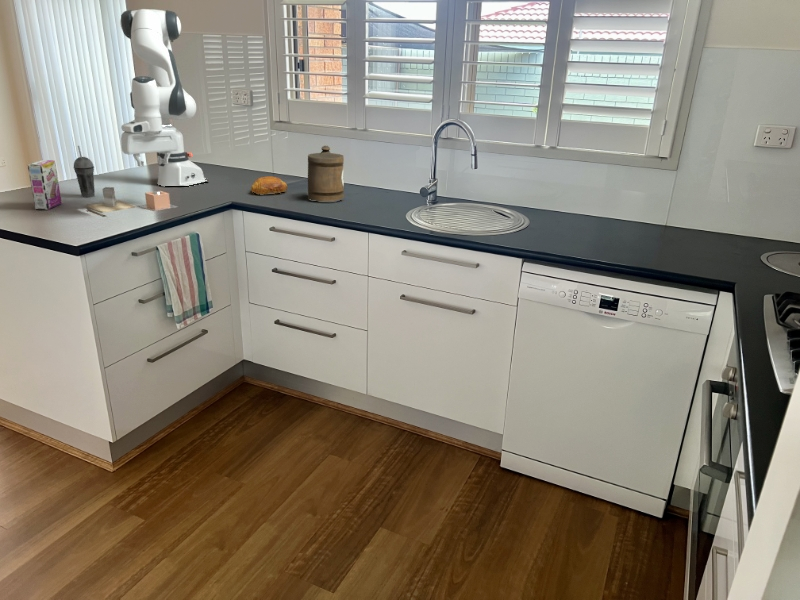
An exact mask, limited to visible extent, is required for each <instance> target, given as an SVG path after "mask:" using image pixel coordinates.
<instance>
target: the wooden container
mask: <svg viewBox="0 0 800 600" xmlns="http://www.w3.org/2000/svg"><path fill="white" fill-rule="evenodd" d="M330 150H331V148H330V147H329V146H328V145H323V146H321V152H316V153H315V152H314V153H309V154H308V155H307V199H308V198H309V199H311V200H316V201H335V200H339V199H342V198H343V199H344V189H345V188H344V185H345V184H344V183H345V182H344V179H345V178H344V162H345V161H344V159H345V158H344V155H343V154H340V153H335V152H334V153H331V151H330ZM309 199H308V200H309Z"/></svg>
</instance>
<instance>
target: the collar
mask: <svg viewBox="0 0 800 600" xmlns="http://www.w3.org/2000/svg"><path fill="white" fill-rule="evenodd" d="M159 191H160V194H156V195H154V194H153V192H154V191H150V192H149V191H148V192H145V193H144V195H145V197H144V198H145V205H147V207H150V208H153V209H159V208H165V207H170V204H171V200H170V193H169V192H165V191H162V190H159Z"/></svg>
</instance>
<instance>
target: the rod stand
mask: <svg viewBox="0 0 800 600" xmlns="http://www.w3.org/2000/svg"><path fill="white" fill-rule="evenodd" d="M160 191H161V190H154V191H152V192H153V194H154V195H156V194H160ZM138 207H140V208H142V209H146V210H149V211H152V212H156V211H162V210H167V209H168V210H169V209H173V208H178V206H177V205H174V204H171V203H170V207H165V208H159V209H153V208H150V207H147V205H146V204H145V205H138Z"/></svg>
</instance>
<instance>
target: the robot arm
mask: <svg viewBox="0 0 800 600" xmlns="http://www.w3.org/2000/svg"><path fill="white" fill-rule="evenodd" d="M119 24H120V28H121V31H122V32H123V35H124V36H125V37H126V38H127V39H130V41H131V48H132V50H133V53H134V54H135V55H136V56H137V57H138V58H139V59H140V60H141V61H143V62H145V67H146V74H147V76H136V77H134V78H132V79H131V92H130V94H129V96H130V104H131V105H130V106H131V107H132V108H133V109H134V117H133V118H134V120H131V121H129V122H125V123H124V124H122V125H121V127H120V129H121V131H123V132H122V133H121V136H120V137H121V138H120V142H121V143H120V145H121V151H122V152H123V153H124V154H125V155H132V157H133V158H134V160H135V161H136V162H137V167H140V168H142V167H144V166H145V164H144V163H145V162H144V161H143V160H141V158H140V157H141V154H153V153H156V159H157V165H158V177H157V178H158V180H157V184H158V186H159V185H161V187H165V186H189V185H193V184H197V183H201V182H205V181H207V180H205V179H206V178H207V177H205V176H204V171H203V169H202V168H201V167H200V166H198V165H197V164H196V163H194V162H192V161H191V160H190V159H189V158H193V152H186V151H185V145H184V135H183V133H182V132H181V131H180V129H178V128H176V127H175V126H174V125H173V124H172V122H171V121H170V120H177V121H178V120H179V121H184V120H191V119H193V118H194V116H195V115H196V112H197V104H196V101H195V99H194V98H193V96H191V94H189V93H187V91H186V90H185V89H184V88H183V85H182V80H181V77H180V74H179V69H178V65H177V62H176V59H175V58H176V57H175V56H174V54H173V49H172V44H171V43H173V42H174V41H175V40H177V39H178V38H180V36H181V32H182V24H181V20H180V18H179V16H178V14H177V13H176V12H175V11H172V10H168V9H167V10H162V9H151V8H150V9H147V8H141V9H137V10H136V9H135V10H132V9H129V10H124V11H123V12H122V13H121V14H120V21H119ZM157 184H156V185H157ZM189 187H190V186H189Z"/></svg>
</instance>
